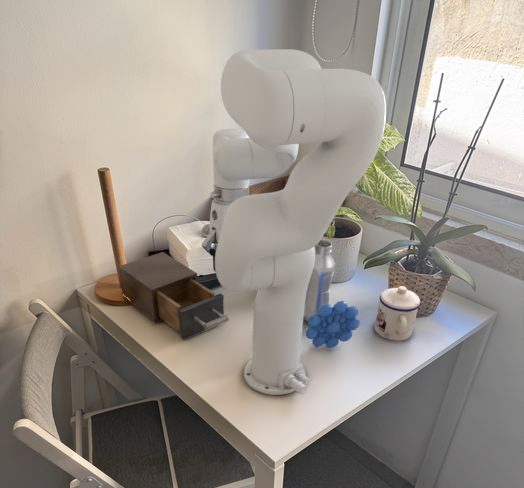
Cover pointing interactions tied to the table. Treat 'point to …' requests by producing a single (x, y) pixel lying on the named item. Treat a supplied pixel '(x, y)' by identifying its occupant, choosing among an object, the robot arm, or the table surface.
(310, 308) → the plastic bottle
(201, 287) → the drawer
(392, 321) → the teacup with lid
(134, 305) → the cabinet
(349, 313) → the blue knobbly flower
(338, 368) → the table surface
